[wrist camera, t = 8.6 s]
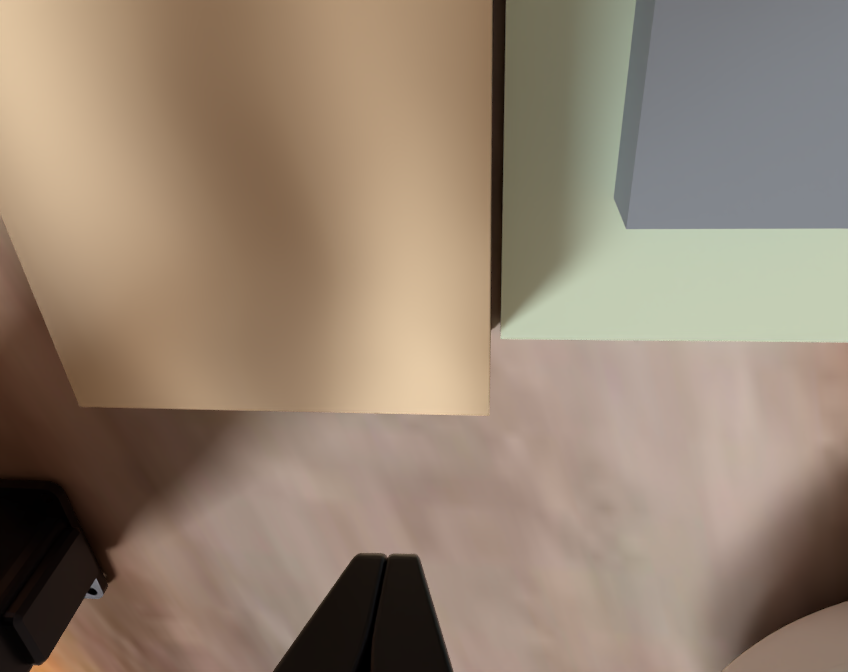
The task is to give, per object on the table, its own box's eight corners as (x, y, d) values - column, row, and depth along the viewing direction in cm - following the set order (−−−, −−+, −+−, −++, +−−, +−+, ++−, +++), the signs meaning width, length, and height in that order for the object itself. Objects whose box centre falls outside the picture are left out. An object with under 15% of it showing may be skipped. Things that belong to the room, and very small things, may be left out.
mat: (500, 332, 20) (500, 339, 20) (513, -534, 11) (514, -548, 11) (926, 335, 19) (933, 343, 19) (1332, -637, 10) (1362, -656, 10)
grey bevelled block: (900, 228, 15) (859, 196, 17) (1101, -324, 10) (1015, -290, 12) (626, 229, 16) (613, 198, 17) (692, -291, 11) (666, -264, 12)
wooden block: (145, 329, 21) (79, 406, 18) (-132, -541, 12) (-384, -722, 8) (490, 331, 20) (489, 415, 17) (496, -628, 11) (496, -881, 7)
